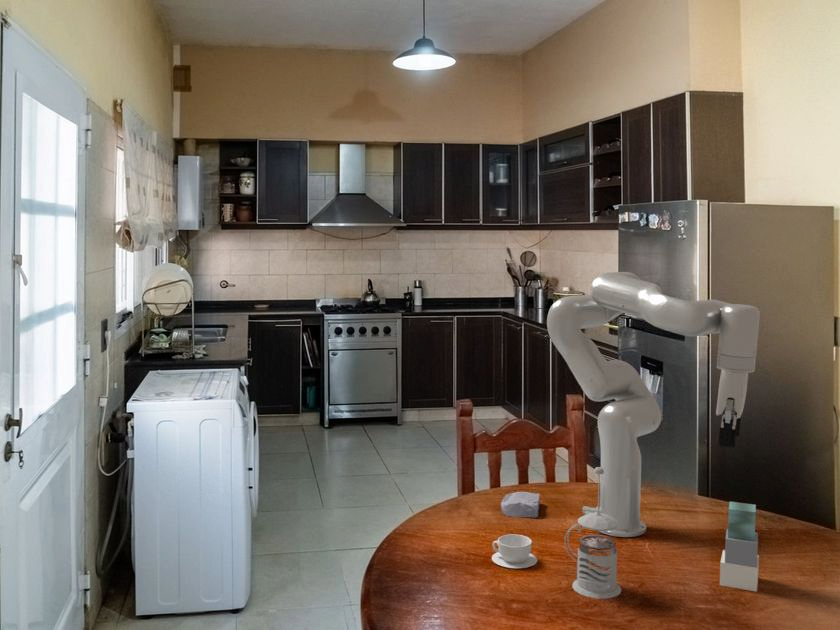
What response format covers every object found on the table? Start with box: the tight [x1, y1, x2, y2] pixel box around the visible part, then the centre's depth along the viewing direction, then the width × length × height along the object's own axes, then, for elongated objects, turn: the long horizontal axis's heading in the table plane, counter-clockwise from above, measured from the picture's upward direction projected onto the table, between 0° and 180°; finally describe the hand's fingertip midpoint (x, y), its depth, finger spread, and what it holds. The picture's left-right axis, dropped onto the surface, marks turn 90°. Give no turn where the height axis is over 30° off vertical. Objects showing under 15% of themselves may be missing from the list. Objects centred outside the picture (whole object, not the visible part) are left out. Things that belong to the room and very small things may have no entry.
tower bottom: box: [719, 549, 760, 592], centre depth 160 cm, size 7×7×5 cm
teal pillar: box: [727, 501, 757, 541], centre depth 159 cm, size 5×5×6 cm
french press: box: [564, 466, 622, 600], centre depth 157 cm, size 10×12×25 cm
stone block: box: [500, 491, 541, 519], centre depth 203 cm, size 12×5×10 cm
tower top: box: [724, 528, 759, 567], centre depth 159 cm, size 6×6×5 cm
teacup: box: [491, 533, 538, 569], centre depth 171 cm, size 10×10×5 cm
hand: (729, 440), depth 167 cm, fingers open, 9 cm apart
